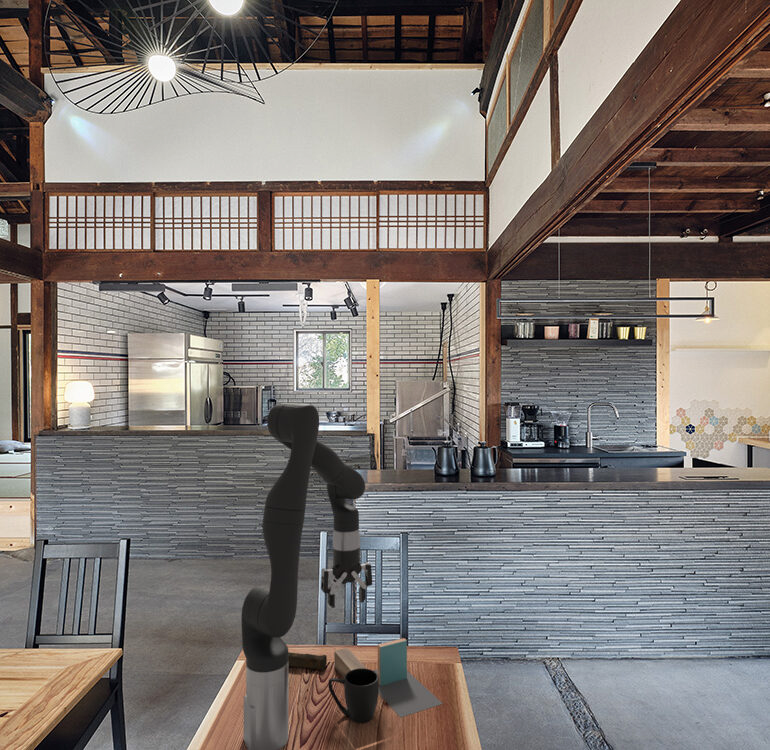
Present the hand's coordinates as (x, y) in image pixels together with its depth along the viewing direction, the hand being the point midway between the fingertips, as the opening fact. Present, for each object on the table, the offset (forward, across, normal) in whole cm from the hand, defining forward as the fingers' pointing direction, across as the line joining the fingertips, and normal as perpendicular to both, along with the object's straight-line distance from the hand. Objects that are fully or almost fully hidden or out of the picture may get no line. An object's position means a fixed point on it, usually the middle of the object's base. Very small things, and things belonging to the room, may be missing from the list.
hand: (347, 604), depth 148 cm
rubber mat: (+19, +10, -14) cm, 25 cm away
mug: (+19, -6, -20) cm, 28 cm away
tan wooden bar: (+19, 0, -5) cm, 20 cm away
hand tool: (+19, -13, +9) cm, 25 cm away
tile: (+18, +9, -10) cm, 23 cm away
